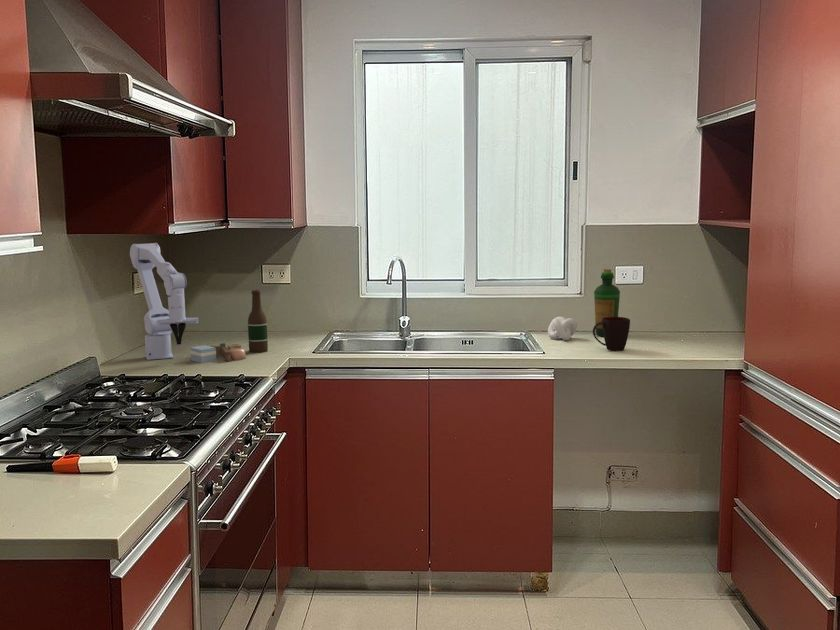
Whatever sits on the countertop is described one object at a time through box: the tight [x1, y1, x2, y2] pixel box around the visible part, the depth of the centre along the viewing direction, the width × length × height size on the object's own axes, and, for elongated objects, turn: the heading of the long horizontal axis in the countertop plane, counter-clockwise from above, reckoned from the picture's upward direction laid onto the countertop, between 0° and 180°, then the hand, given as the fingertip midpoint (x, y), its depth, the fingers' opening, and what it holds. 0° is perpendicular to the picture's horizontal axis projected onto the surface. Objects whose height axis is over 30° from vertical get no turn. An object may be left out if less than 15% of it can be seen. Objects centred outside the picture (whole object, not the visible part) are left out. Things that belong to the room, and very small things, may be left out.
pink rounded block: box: [229, 347, 246, 361], centre depth 300 cm, size 6×6×4 cm
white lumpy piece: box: [547, 316, 578, 342], centre depth 333 cm, size 11×12×9 cm
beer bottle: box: [247, 289, 269, 354], centre depth 314 cm, size 8×8×24 cm
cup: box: [592, 316, 631, 352], centre depth 307 cm, size 10×14×12 cm
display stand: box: [210, 342, 232, 363], centre depth 300 cm, size 11×16×4 cm
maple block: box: [226, 343, 242, 350], centre depth 307 cm, size 4×4×4 cm
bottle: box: [593, 268, 621, 338], centre depth 337 cm, size 11×11×28 cm
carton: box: [189, 344, 217, 364], centre depth 298 cm, size 6×8×5 cm
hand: (178, 344), depth 294 cm, fingers closed
